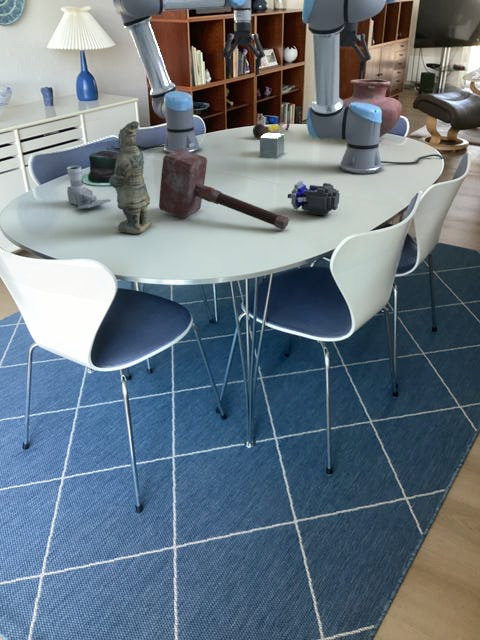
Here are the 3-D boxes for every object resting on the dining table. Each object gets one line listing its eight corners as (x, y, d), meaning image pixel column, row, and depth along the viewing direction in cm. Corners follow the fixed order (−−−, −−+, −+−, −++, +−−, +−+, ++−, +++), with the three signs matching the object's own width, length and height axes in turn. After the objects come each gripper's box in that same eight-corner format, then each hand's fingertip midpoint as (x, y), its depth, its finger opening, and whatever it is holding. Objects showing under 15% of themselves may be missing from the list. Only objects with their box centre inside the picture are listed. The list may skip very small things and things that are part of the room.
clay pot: (396, 132, 265) (403, 75, 252) (401, 147, 239) (409, 84, 227) (332, 131, 270) (336, 75, 257) (330, 145, 244) (333, 84, 232)
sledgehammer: (299, 190, 156) (179, 147, 167) (285, 200, 148) (161, 154, 160) (286, 244, 166) (174, 200, 177) (272, 256, 158) (156, 209, 170)
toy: (295, 178, 172) (342, 184, 166) (295, 205, 177) (340, 211, 171) (285, 186, 166) (333, 192, 160) (284, 213, 170) (331, 220, 164)
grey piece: (79, 162, 182) (107, 171, 173) (85, 197, 188) (112, 207, 179) (56, 168, 176) (83, 177, 167) (62, 204, 182) (89, 214, 173)
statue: (131, 220, 168) (117, 116, 152) (158, 224, 164) (147, 118, 149) (109, 233, 159) (93, 124, 144) (138, 237, 156) (124, 126, 140)
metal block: (267, 152, 238) (267, 132, 234) (283, 153, 235) (284, 134, 231) (259, 156, 231) (259, 137, 227) (276, 158, 228) (277, 138, 224)
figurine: (296, 120, 270) (269, 123, 251) (294, 136, 273) (268, 140, 254) (273, 118, 276) (245, 120, 257) (271, 134, 279) (244, 137, 260)
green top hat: (70, 181, 201) (92, 168, 218) (116, 207, 203) (134, 192, 220) (83, 145, 193) (105, 134, 211) (131, 172, 195) (148, 159, 212)
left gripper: (213, 22, 244) (215, 74, 255) (266, 21, 235) (265, 76, 246) (220, 21, 250) (222, 72, 260) (272, 20, 241) (272, 74, 251)
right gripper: (314, 21, 219) (312, 79, 230) (378, 20, 211) (372, 80, 222) (319, 20, 225) (317, 76, 236) (381, 19, 217) (376, 78, 228)
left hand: (243, 74), depth 253 cm, fingers open, 13 cm apart
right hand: (344, 78), depth 229 cm, fingers open, 13 cm apart
